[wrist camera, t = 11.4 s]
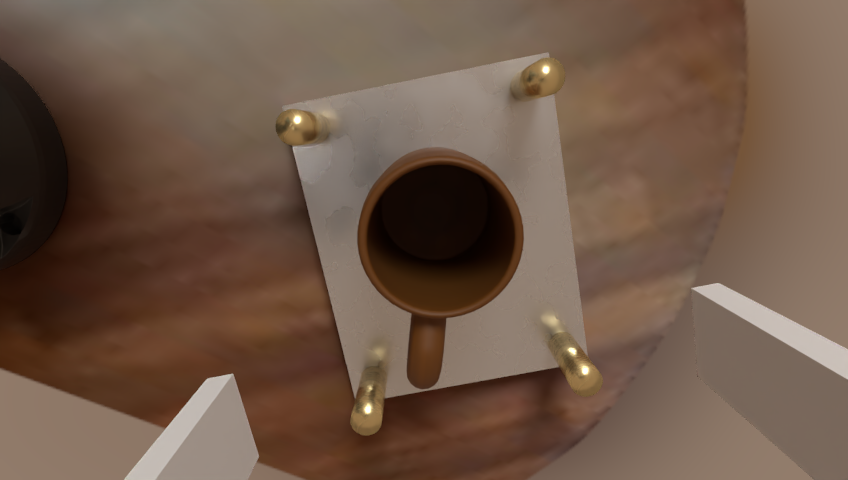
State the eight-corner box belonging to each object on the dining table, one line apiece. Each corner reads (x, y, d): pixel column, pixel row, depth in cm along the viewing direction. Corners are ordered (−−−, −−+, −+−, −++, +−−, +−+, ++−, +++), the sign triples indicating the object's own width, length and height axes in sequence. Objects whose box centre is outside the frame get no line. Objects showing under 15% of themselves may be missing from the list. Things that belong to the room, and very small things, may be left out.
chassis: (358, 391, 35) (345, 450, 28) (288, 107, 30) (254, 101, 24) (581, 351, 34) (617, 402, 28) (542, 56, 30) (575, 36, 23)
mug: (477, 335, 32) (500, 416, 23) (363, 324, 32) (340, 402, 23) (503, 152, 30) (541, 162, 20) (379, 139, 29) (360, 143, 20)
